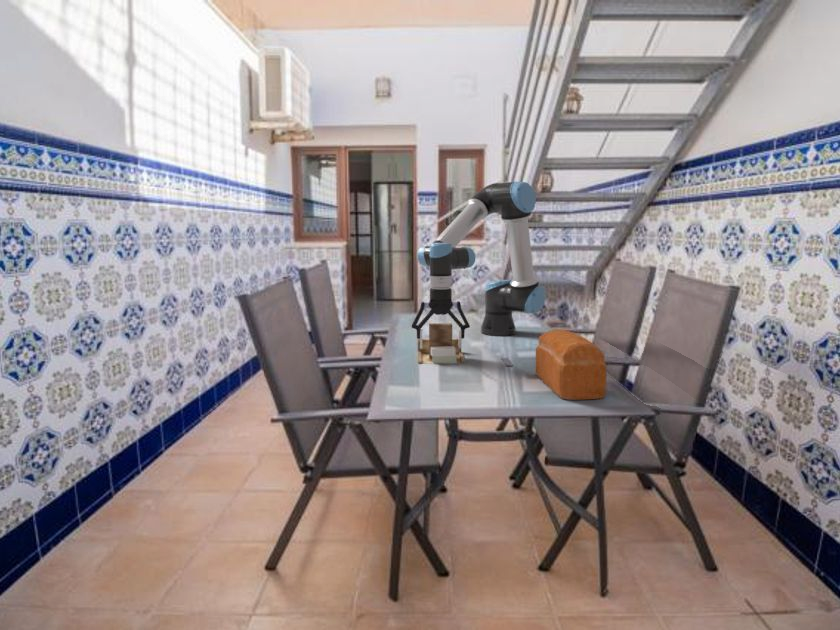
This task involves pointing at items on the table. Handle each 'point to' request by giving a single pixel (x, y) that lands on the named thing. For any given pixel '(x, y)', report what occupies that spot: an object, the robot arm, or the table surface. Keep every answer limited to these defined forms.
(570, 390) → the bread
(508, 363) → the rubber mat
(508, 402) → the table surface
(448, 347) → the offcut upper
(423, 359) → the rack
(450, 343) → the walnut board
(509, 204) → the robot arm
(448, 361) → the offcut lower
